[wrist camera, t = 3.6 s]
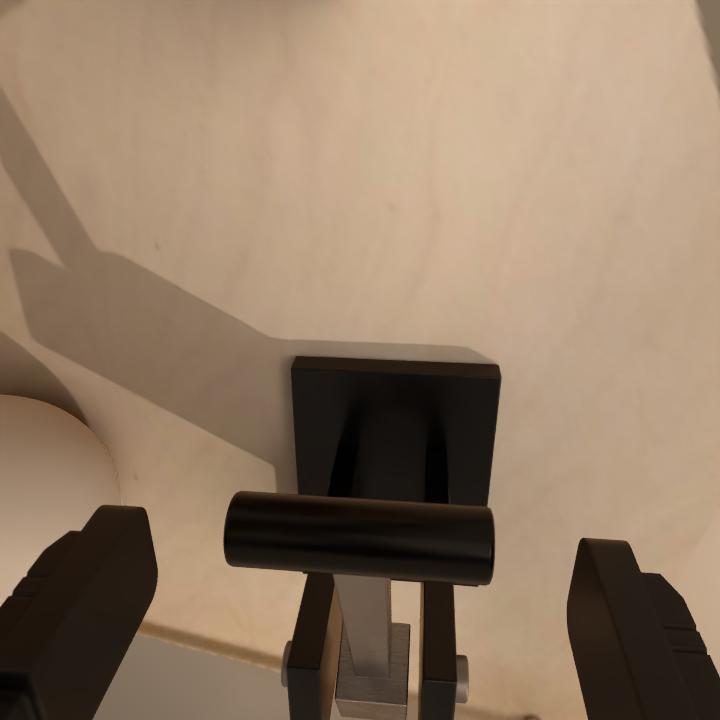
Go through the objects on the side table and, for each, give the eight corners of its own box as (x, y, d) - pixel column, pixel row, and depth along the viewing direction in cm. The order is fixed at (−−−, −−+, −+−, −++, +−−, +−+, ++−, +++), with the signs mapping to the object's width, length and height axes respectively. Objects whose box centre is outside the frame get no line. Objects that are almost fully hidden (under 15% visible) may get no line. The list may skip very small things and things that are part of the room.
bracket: (295, 355, 28) (203, 565, 17) (499, 364, 27) (546, 590, 16) (306, 557, 34) (242, 819, 22) (476, 569, 33) (501, 848, 21)
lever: (238, 456, 13) (210, 575, 11) (493, 470, 12) (498, 596, 11) (309, 638, 23) (299, 712, 21) (448, 650, 22) (448, 727, 21)
